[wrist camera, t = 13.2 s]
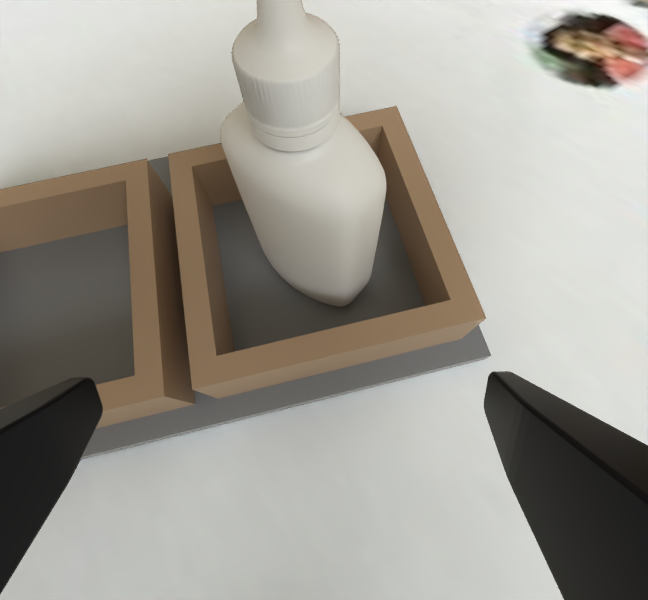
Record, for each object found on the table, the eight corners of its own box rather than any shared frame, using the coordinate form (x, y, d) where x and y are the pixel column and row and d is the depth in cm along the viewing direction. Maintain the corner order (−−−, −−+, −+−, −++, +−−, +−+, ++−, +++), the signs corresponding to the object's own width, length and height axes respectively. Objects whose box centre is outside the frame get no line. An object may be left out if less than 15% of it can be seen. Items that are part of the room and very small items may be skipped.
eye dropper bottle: (335, 204, 19) (329, -128, 8) (378, 297, 17) (452, 30, 6) (255, 231, 19) (132, -78, 8) (291, 329, 17) (196, 107, 6)
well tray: (388, 120, 22) (397, 59, 19) (484, 359, 17) (523, 337, 13) (-33, 210, 21) (-108, 163, 17) (-75, 498, 16) (-197, 515, 12)
